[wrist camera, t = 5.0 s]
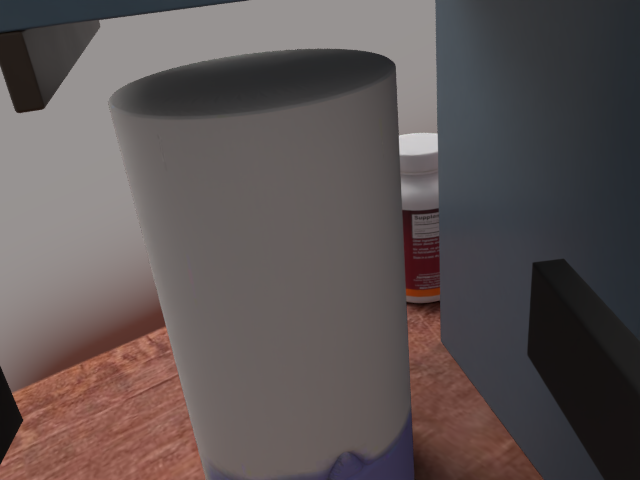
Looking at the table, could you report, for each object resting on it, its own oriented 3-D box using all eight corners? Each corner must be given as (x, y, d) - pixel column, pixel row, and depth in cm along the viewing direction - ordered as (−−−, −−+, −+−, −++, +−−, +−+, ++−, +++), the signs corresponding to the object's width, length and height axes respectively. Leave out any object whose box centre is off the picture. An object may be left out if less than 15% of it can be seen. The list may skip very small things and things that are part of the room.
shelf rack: (205, 687, 22) (-33, -32, 11) (184, 403, 36) (68, -41, 25) (627, 549, 25) (753, -121, 15) (457, 336, 39) (457, -85, 29)
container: (357, 386, 36) (324, 36, 27) (456, 513, 28) (454, 66, 19) (193, 448, 33) (94, 75, 24) (247, 612, 25) (127, 134, 16)
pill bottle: (370, 271, 48) (360, 136, 43) (445, 257, 49) (443, 123, 44) (393, 313, 42) (385, 164, 38) (477, 297, 43) (479, 148, 38)
